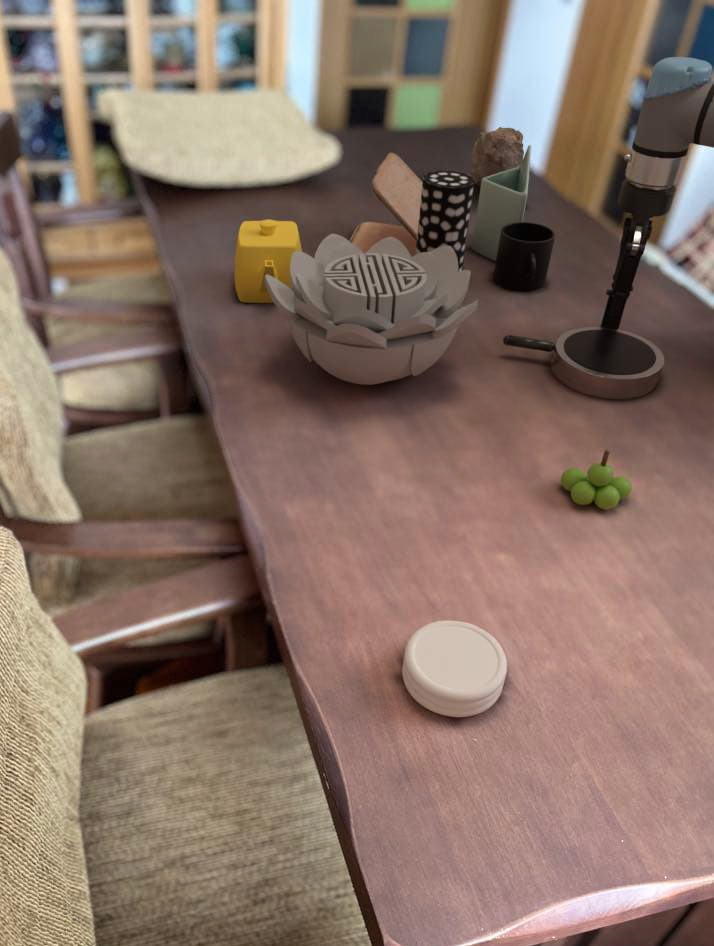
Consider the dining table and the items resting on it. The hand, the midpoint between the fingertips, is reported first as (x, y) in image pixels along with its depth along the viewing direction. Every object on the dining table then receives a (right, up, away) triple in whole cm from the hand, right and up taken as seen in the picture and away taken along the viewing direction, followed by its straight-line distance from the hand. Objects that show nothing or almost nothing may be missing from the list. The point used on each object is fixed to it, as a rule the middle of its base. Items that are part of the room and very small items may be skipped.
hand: (608, 330), depth 134 cm
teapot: (-56, +11, +13) cm, 59 cm away
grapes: (-13, -29, -31) cm, 44 cm away
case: (-31, +22, +26) cm, 46 cm away
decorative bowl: (-41, -7, -6) cm, 42 cm away
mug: (-10, +13, +16) cm, 23 cm away
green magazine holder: (-13, +23, +27) cm, 38 cm away
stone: (-7, +43, +50) cm, 66 cm away
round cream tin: (-35, -48, -52) cm, 79 cm away
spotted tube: (-27, +9, +12) cm, 31 cm away
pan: (-7, -7, -6) cm, 12 cm away
